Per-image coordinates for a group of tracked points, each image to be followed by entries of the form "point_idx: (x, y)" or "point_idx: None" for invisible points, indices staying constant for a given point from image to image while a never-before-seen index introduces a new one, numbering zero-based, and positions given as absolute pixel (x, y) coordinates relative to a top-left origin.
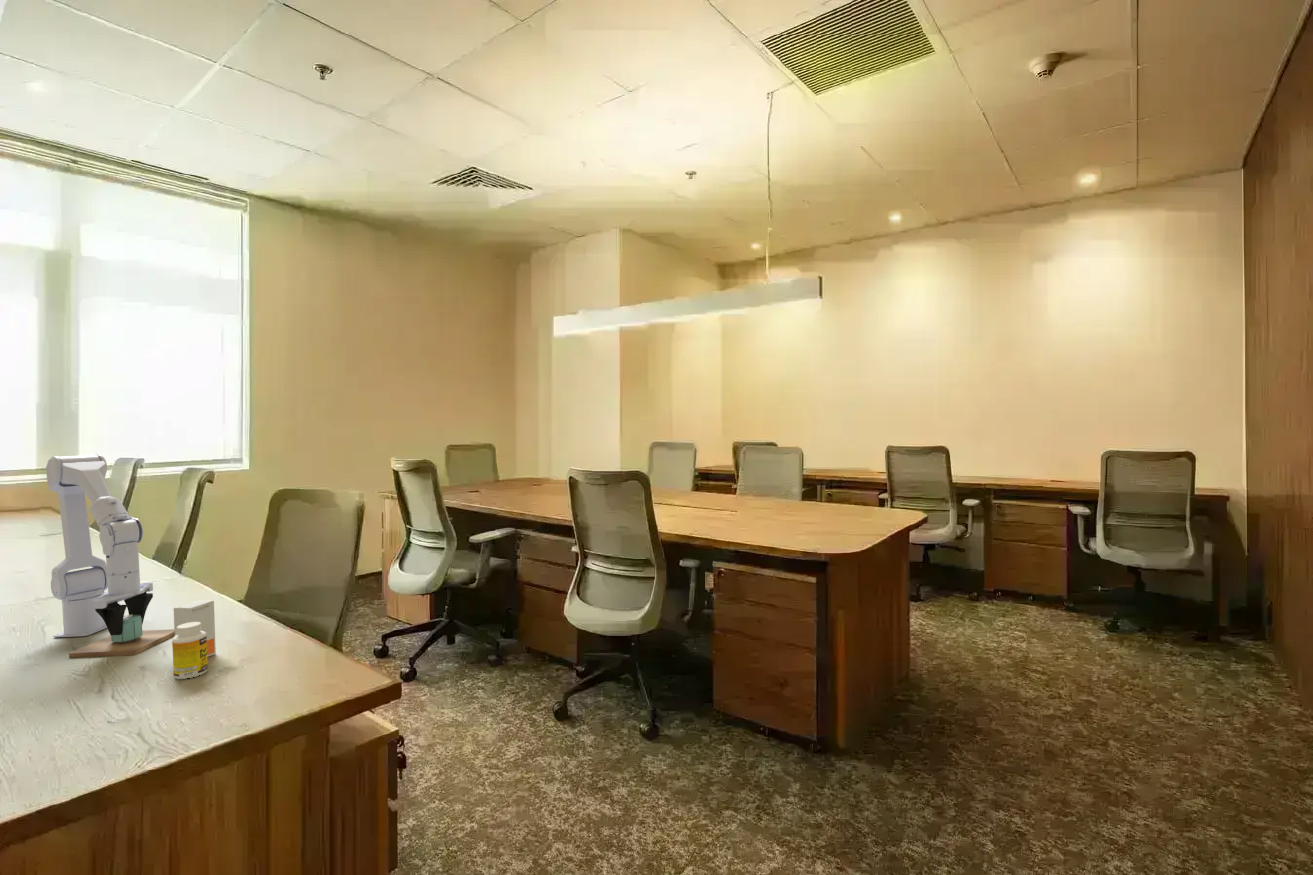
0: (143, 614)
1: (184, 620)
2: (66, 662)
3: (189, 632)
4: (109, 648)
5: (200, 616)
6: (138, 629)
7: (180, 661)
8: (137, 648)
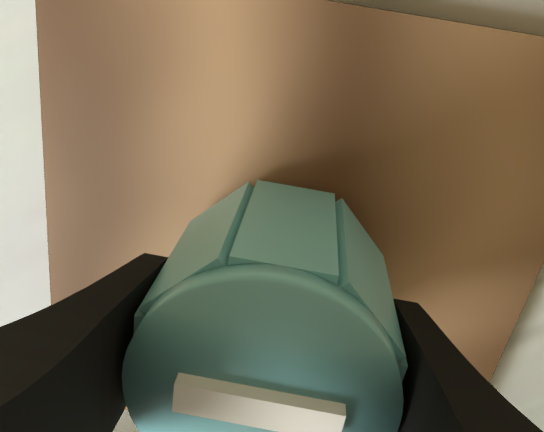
0: (101, 297)
1: None
2: (540, 423)
3: None
4: (457, 291)
5: None
6: (292, 215)
7: None
8: None
